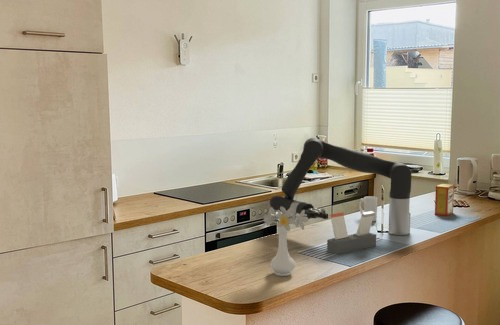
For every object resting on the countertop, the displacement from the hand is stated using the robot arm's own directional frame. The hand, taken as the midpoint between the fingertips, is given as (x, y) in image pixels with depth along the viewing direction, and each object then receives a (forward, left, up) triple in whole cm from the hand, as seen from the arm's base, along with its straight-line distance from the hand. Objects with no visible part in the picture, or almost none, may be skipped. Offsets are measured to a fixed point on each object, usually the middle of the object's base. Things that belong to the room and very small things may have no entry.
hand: (327, 216), depth 247 cm
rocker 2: (-12, +10, -8) cm, 17 cm away
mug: (-50, -24, -13) cm, 57 cm away
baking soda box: (-94, -10, -13) cm, 95 cm away
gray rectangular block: (-6, +10, -13) cm, 17 cm away
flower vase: (+38, +19, -13) cm, 44 cm away
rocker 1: (0, +10, -8) cm, 12 cm away
